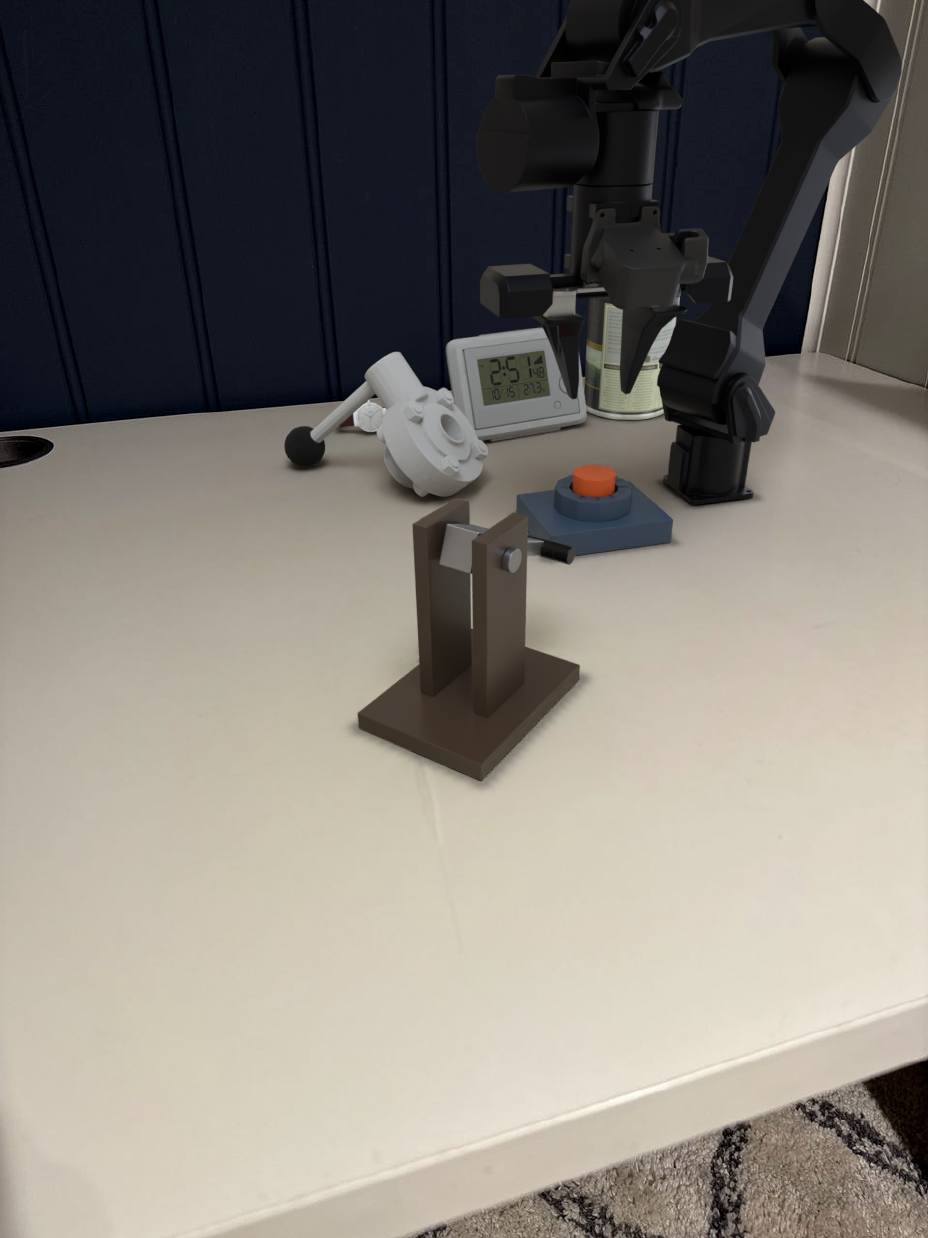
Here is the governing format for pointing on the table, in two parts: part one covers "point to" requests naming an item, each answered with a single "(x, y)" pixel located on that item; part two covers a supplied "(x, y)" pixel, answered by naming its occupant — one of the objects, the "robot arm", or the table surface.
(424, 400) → the mechanical valve
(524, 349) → the digital clock
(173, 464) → the table surface
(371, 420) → the watch
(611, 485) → the button
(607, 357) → the coffee can
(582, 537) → the button housing
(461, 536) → the tap lever
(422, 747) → the bracket
